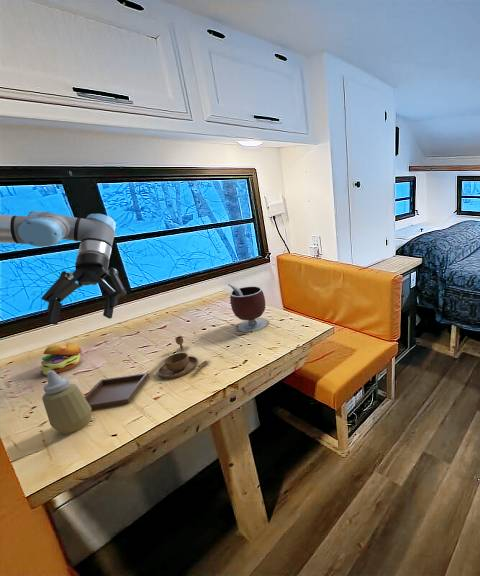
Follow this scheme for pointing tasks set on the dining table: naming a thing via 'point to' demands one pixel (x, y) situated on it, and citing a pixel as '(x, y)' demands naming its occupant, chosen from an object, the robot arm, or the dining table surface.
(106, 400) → the dark brown tray
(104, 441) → the dining table surface
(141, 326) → the dining table surface
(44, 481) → the dining table surface
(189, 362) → the place setting
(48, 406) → the squeeze bottle
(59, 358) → the cheeseburger
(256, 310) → the mate gourd
